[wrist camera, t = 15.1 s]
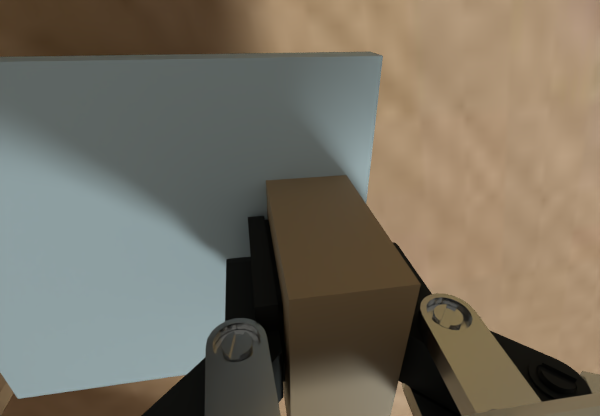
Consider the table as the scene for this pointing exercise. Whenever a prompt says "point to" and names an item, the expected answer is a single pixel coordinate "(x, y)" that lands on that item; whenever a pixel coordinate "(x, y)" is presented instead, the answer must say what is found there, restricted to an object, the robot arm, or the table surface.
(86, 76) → the lid
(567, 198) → the table surface
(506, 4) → the table surface
